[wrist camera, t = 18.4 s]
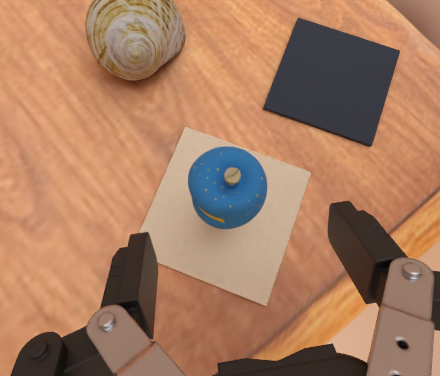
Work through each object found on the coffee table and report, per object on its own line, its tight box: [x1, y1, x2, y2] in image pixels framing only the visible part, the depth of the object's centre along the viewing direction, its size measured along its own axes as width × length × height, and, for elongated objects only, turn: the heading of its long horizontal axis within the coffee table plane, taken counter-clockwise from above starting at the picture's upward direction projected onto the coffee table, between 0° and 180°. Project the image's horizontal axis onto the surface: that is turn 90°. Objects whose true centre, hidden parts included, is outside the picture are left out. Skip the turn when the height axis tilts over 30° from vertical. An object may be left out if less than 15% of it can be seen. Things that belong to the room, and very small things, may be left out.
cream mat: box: [139, 126, 311, 306], centre depth 32 cm, size 14×14×1 cm
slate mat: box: [263, 18, 400, 146], centre depth 35 cm, size 12×12×1 cm
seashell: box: [85, 0, 185, 80], centre depth 33 cm, size 10×10×10 cm
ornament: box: [188, 146, 267, 229], centre depth 25 cm, size 5×5×15 cm
